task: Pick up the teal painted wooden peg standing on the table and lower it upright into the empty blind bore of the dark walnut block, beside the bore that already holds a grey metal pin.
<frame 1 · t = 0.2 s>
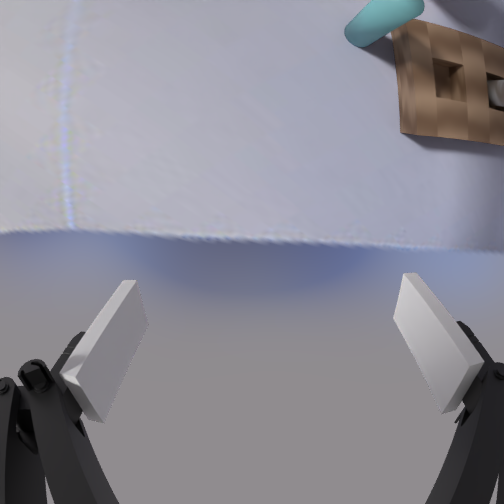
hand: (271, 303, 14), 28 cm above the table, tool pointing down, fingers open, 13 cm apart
teal peg: (358, 34, 30), on the table
bore block: (457, 87, 31), on the table
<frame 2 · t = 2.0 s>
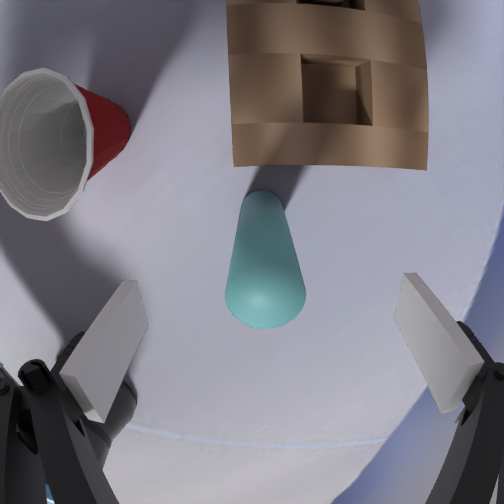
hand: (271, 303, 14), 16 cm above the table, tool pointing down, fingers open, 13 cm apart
teal peg: (261, 210, 29), on the table
bore block: (321, 44, 22), on the table
plastic cup: (105, 133, 26), on the table
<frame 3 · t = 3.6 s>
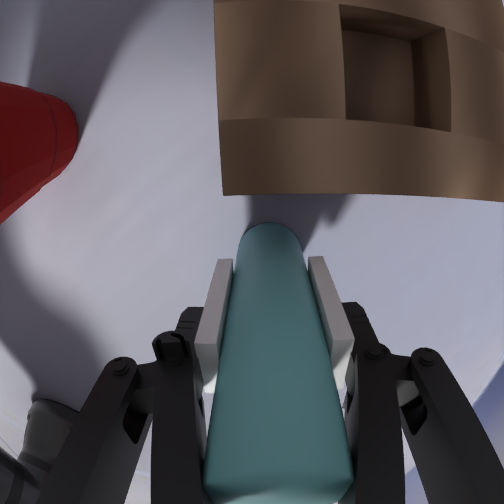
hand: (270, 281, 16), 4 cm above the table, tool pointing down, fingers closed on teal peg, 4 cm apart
teal peg: (269, 252, 19), on the table, touching gripper
bore block: (359, 6, 12), on the table
plastic cup: (49, 140, 16), on the table
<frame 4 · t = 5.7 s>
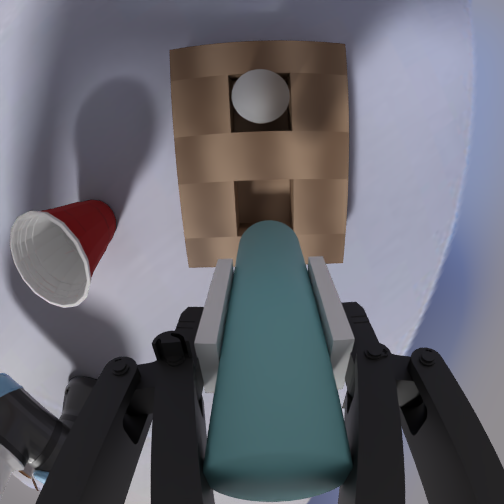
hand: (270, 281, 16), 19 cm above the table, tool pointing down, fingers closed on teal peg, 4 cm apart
coffee pot: (38, 457, 77), on the table
teal peg: (269, 249, 20), point 14 cm above the table, touching gripper
bore block: (262, 150, 31), on the table
plastic cup: (97, 222, 35), on the table
when the fingers open (7 cm above the table, at t = 7.8 s): teal peg drops 1 cm, resting on bore block.
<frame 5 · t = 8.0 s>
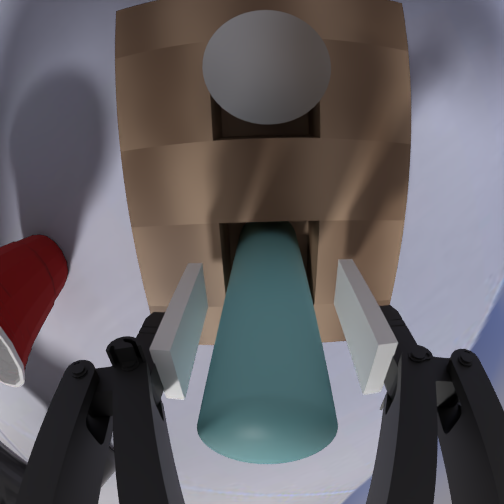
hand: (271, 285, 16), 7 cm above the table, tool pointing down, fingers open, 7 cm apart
teal peg: (267, 241, 21), point 1 cm above the table, touching bore block
bore block: (266, 166, 20), on the table
plastic cup: (47, 262, 24), on the table
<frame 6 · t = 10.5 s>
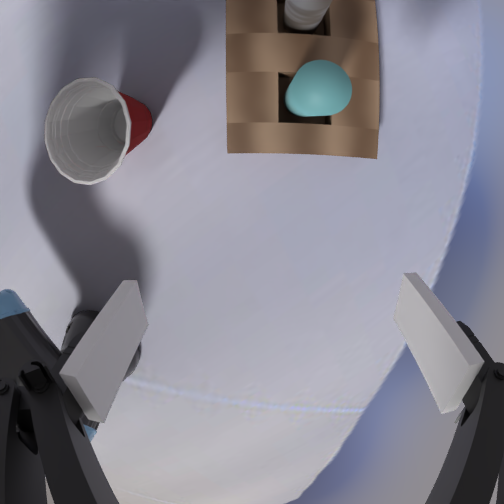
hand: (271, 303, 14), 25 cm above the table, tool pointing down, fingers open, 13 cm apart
teal peg: (300, 100, 31), point 1 cm above the table, touching bore block
bore block: (300, 61, 30), on the table
plastic cup: (132, 124, 34), on the table
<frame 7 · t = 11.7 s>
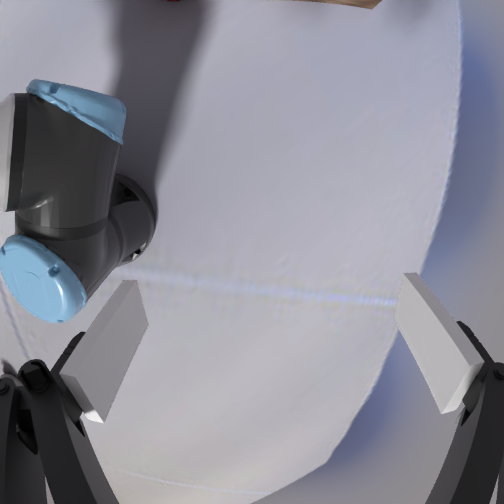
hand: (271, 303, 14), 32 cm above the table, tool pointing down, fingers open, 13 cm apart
coffee pot: (21, 390, 73), on the table
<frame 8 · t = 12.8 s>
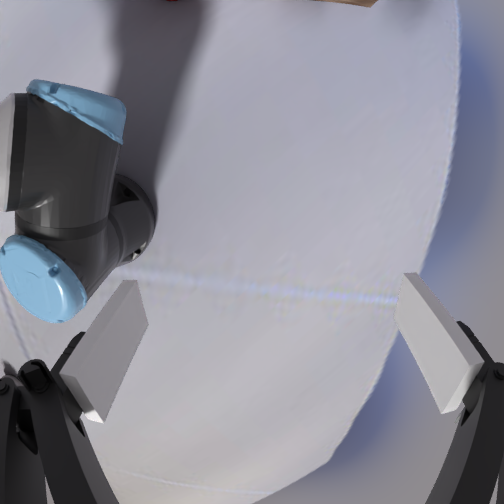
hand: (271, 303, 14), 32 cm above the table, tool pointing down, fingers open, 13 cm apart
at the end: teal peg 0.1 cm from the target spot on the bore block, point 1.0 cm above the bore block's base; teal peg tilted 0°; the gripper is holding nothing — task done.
